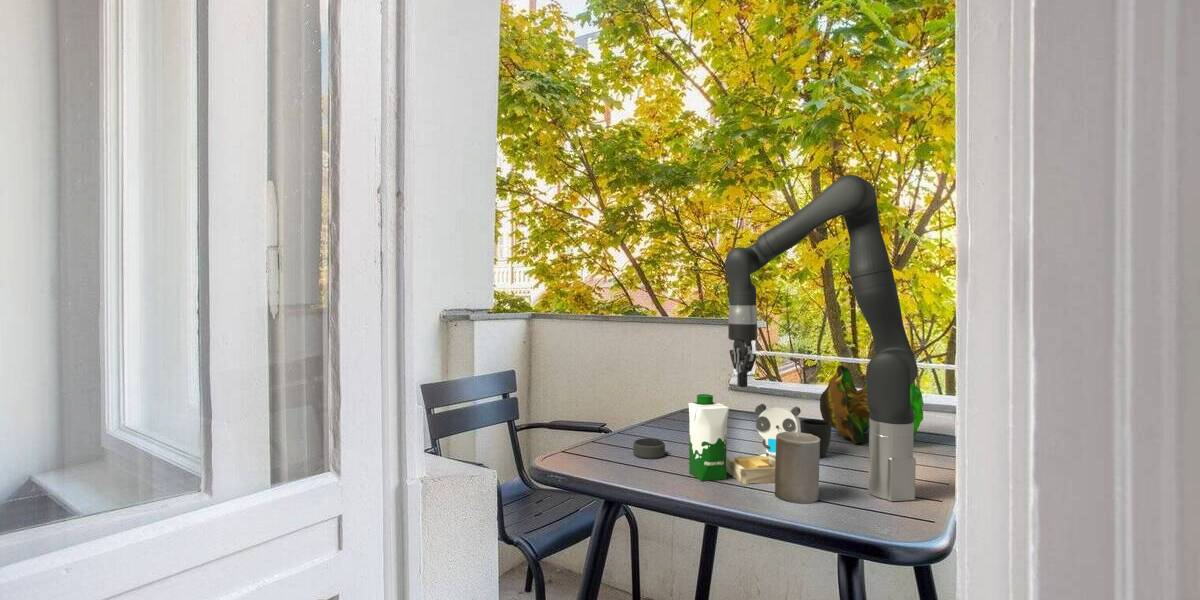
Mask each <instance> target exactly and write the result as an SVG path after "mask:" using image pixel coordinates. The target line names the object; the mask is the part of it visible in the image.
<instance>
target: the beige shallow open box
mask: <svg viewBox="0 0 1200 600" xmlns="http://www.w3.org/2000/svg"><path fill="white" fill-rule="evenodd" d="M766 458H768V459H769V467H768V468H746V469H745V468H743V467H742V466H741V465H739V464H738V463H737V462H735V461H734V459H733V458H731V457H726V469H727V474H729V475H730V476H731V475H732V477H733V478H734V479H735V478H736V479H737V482H739V481H740V482H741V483H742V484H741V483H740V482H739V483H740V484H741V485H752V484H751V483H760V484H775V459H774V458H772V457H771V456H766ZM736 479H735V480H736ZM749 483H750V484H749Z"/></svg>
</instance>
